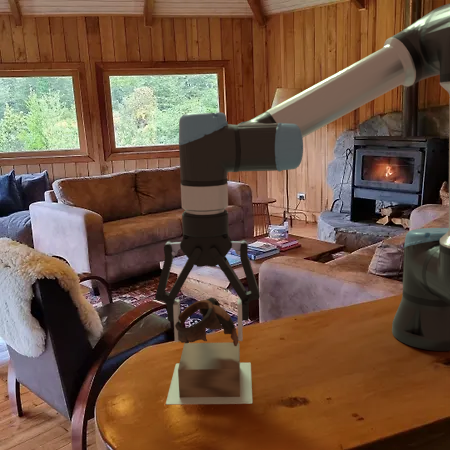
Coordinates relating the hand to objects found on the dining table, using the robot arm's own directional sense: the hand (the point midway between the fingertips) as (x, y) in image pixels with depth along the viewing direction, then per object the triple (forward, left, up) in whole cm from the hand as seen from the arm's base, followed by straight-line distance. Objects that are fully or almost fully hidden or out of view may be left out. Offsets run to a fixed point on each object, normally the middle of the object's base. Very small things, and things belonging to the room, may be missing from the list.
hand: (209, 337), depth 89 cm
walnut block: (0, 0, -8) cm, 8 cm away
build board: (0, 0, -10) cm, 10 cm away
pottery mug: (0, +1, 0) cm, 1 cm away
